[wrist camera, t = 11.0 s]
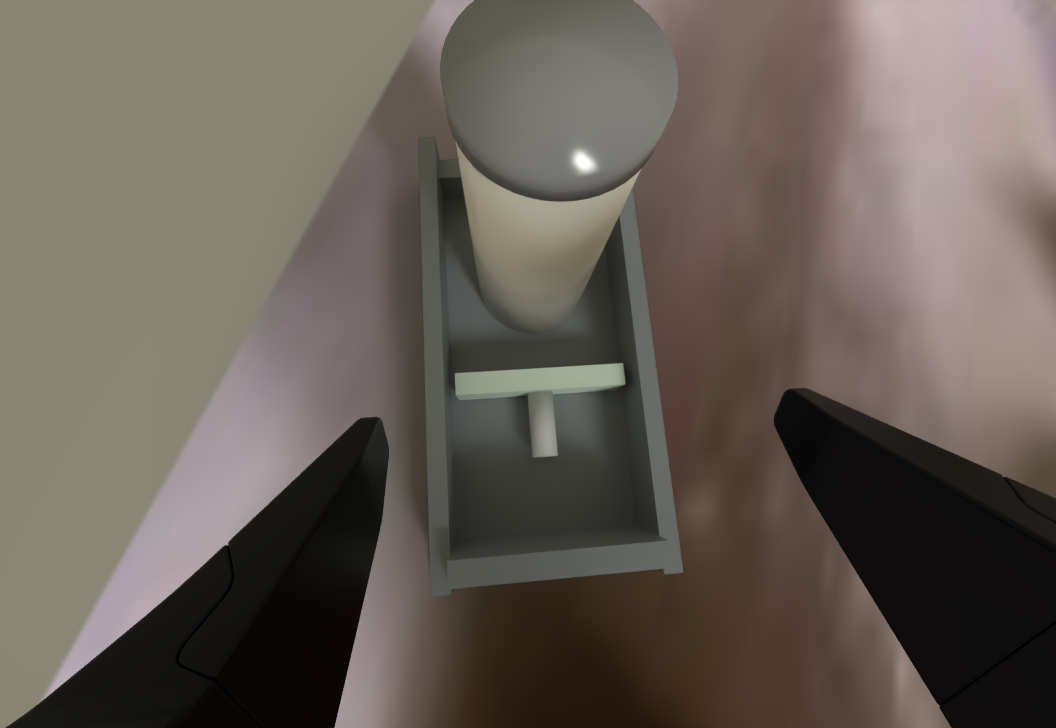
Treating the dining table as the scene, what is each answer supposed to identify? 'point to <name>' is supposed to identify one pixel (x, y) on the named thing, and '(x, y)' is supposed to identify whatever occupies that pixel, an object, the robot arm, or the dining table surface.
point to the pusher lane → (504, 428)
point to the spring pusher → (540, 393)
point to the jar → (551, 140)
